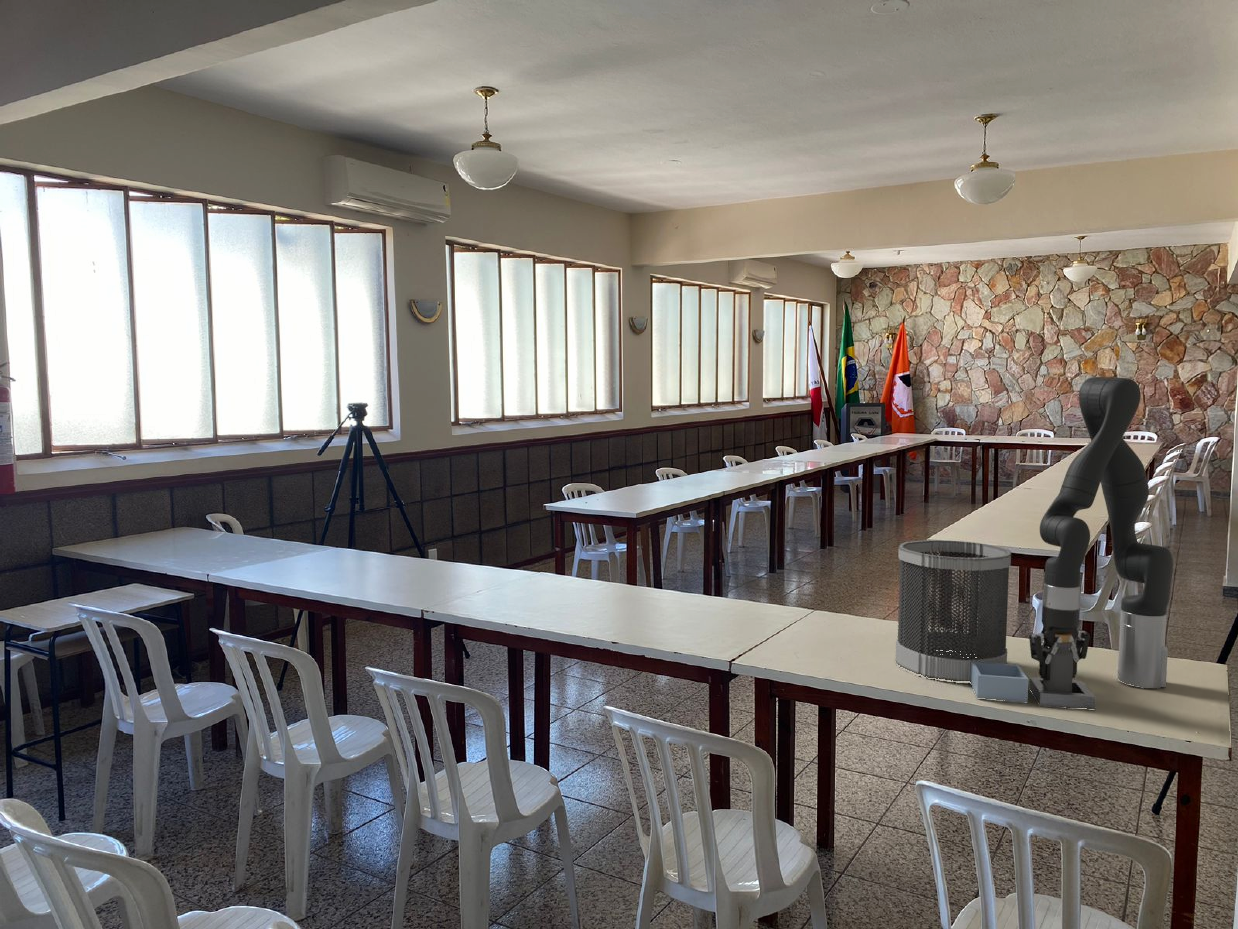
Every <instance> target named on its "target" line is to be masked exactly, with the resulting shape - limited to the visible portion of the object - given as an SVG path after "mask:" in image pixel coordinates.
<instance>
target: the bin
mask: <svg viewBox="0 0 1238 929" xmlns="http://www.w3.org/2000/svg"><path fill="white" fill-rule="evenodd" d="M970 682H971V684H972V687H973V689H974V691H975V693H974V695H975V694H976V696H977V698H985V699H996V700H1003V701H1002V702H1004V700H1005V701H1014V702H1013V703H1017V702H1027V703H1028V700H1029V699H1028V696H1029V693H1028V692H1029V678H1028V676H1027V675H1026V673H1025V671H1024V670H1023V669H1022V668H1021V666H1020V665H1019V664H1008V663H1007V664H997V663H983V662H971V680H970ZM972 687H971V688H972ZM973 689H972V690H973ZM974 691H973V692H974ZM976 696H975V697H976ZM977 698H976V699H977Z"/></svg>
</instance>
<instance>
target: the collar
mask: <svg viewBox="0 0 1238 929" xmlns="http://www.w3.org/2000/svg"><path fill="white" fill-rule="evenodd" d="M1029 688H1030V690H1031V691H1032V693H1033V695H1034V696H1033V695H1032V696H1033V698H1034V697H1035V698H1036V699H1035V698H1034V699H1035V701H1036V700H1037V701H1036V702H1038V703H1039V704H1038V703H1037V704H1038V705H1040V706H1039V707H1043V706H1047V707H1046V708H1056V707H1066V708H1065V709H1068V708H1087V709H1095V710H1096V700H1097V697H1096V696H1095V695H1094V693H1093V692H1092V691H1091V690H1090V689H1089V688H1088V686H1087V685H1086V684H1085V683H1084V682H1083V681H1082V680H1074V679H1072V693H1067V692H1054V691H1047V690H1046V689H1045V687H1044V686H1043V679H1042V678H1041V677H1032V676H1029V682H1028V689H1029ZM1030 690H1029V691H1030ZM1032 693H1031V694H1032ZM1049 706H1050V707H1049Z"/></svg>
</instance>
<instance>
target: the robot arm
mask: <svg viewBox="0 0 1238 929" xmlns="http://www.w3.org/2000/svg"><path fill="white" fill-rule="evenodd" d="M1141 396H1142V394H1141V388H1140V386H1139V385H1138V383H1137V382H1136V381H1135V380H1134V379H1131V378H1127V377H1114V376H1113V377H1111V376H1110V377H1109V376H1107V377H1106V376H1095V377H1093V376H1092V377H1089V378H1087V379H1085V380H1084V381H1083V382H1082V384H1081V386H1080V388H1079V392H1078V402H1079V403H1078V404H1079V408H1080V412H1081V416H1082V417H1083V421H1084V423H1085V427H1086V430H1087V433H1088V436H1089V439H1090V442H1089V443H1088V444H1087V445H1086V446H1085V447H1084V448H1083V449H1082V450H1081V451H1080V452H1079V453H1078V454H1077V455H1076V456H1075V458H1073V459H1072V461H1071V463H1070V465H1069V466H1068V468H1067V471H1066V473H1065V475H1064V479H1063V481H1062V484H1061V487H1060V489H1059V493H1058V495H1057V496H1056V497H1055V499H1054V500H1053V501H1052V502H1051V504H1050V505H1049V507H1048V509H1047V510H1046V512H1044V514H1043V517H1042V518H1041V520H1040V524H1039V535H1040V537H1041V540H1042V541H1043V542H1044V543H1046V544H1048V545H1050V546H1054V547H1060V550H1059V553H1058V555H1057V556H1052V557H1049V558H1048V559H1047V560H1046V562H1045V564H1044V584H1043V590H1042V602H1041V603H1042V605H1041V623H1042V629H1041V632H1039V633H1033V632H1031V633H1029V634H1028V637H1029V638H1028V639H1029V648H1030V657H1031V659H1033V660H1035V661H1037V662H1038V663H1039V664H1038V665H1039V666H1038V675H1039V676H1040V678H1042V679H1045V680H1049V679H1050V664H1049V663H1050V661H1051V659H1052V655H1055V654H1056V652H1057V649H1058V647H1057V644H1058V643H1062V638H1061V636H1058V637H1055V634H1072V635H1071V637H1070V639H1069V642H1070V643H1072V647H1069V650H1070V651H1071V652H1072V653H1073V677H1072V679H1075V678H1076V676H1077V674H1078V662H1079V661H1080V660H1085V659H1086V658H1087V655H1088V649H1089V644H1090V637H1091V634H1090V633H1089V632H1087V631H1085V630H1082V629H1080V630H1078V628H1079V626H1080V614H1081V588H1080V583H1081V567H1082V565H1083V562H1084V559H1085V558H1086V557H1085V556H1086V554H1087V551H1088V548H1089V545H1090V541H1091V530H1090V528H1089V525H1088V524H1087V523H1086V521H1085V520H1083V519H1082V518H1079V517H1075V515H1076V514H1077V512H1079V511H1082V510H1088V509H1090V508H1091V507H1092V506H1093V504H1094V501H1095V500H1096V497H1097V492H1098V490H1099V487H1100V486H1101V490H1102V494H1103V498H1104V502H1105V506H1106V511H1107V516H1108V521H1109V526H1110V527H1109V528H1110V534H1111V544H1112V545H1111V546H1112V555H1113V563H1114V566H1115V570H1116V572H1117V574H1118V576H1119V577H1120V578H1122V579H1123V580H1126V581H1130V582H1135V583H1140V584H1144V586H1143V590H1142V592H1141V593H1139V594H1138V593H1137V594H1131V595H1126V596H1124V597H1122V598H1121V603H1120V621H1119V638H1118V639H1119V642H1118V643H1119V644H1118V663H1117V664H1118V665H1117V680H1118V679H1119V680H1120V681H1122V682H1124V683H1126V684H1131V685H1134V686H1139V687H1143V688H1142V689H1144V688H1157V689H1159V688H1158V687H1167V674H1168V673H1167V672H1168V653H1169V650H1168V647H1167V646H1166V630H1167V629H1166V628H1167V627H1166V625H1167V624H1166V623H1167V612H1168V611H1167V609H1168V605H1169V602H1170V598H1171V588H1172V579H1173V570H1174V559H1173V555H1172V553H1171V551H1170V549H1168V548H1167V547H1165V546H1162V545H1161V546H1160V545H1154V544H1148V543H1142V542H1139V541H1138V538H1137V536H1136V535H1137V534H1136V522H1137V520H1138V518H1139V516H1140V514H1141V513H1142V510H1143V509H1144V507H1145V506H1146V504H1147V501H1148V499H1149V496H1150V495H1149V494H1150V487H1149V484H1148V478H1147V474H1146V468H1145V465H1144V464H1143V463H1142V460H1141V459H1140V458H1139V456H1138V455H1137V454H1136V452H1135V451H1134V449H1133V448H1132V447H1131V446H1130V445H1129V444H1128V443H1127V442H1126V440H1125V439H1124V435H1125V434H1126V431H1127V430H1128V428H1129V426H1130V424H1131V422H1132V421H1133V418H1134V417H1135V416H1136V414H1137V412H1138V409H1139V406H1140V402H1141V398H1142V397H1141ZM1048 648H1051V649H1050V650H1048ZM1046 652H1047V655H1046V657H1045V654H1046Z"/></svg>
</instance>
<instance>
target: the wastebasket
mask: <svg viewBox="0 0 1238 929" xmlns="http://www.w3.org/2000/svg"><path fill="white" fill-rule="evenodd" d="M898 559H899V574H898V575H899V577H898V578H899V582H898V583H899V585H898V587H899V589H898V612H897V614H898V618H897V620H898V621H897V624H898V625H897V639H896V641H895V661H896V663H897V664H898V665H900V667H903V668H905V669H907V670H909V671H912V672H914V673H916V674H921V675H923V676H924V677H926V676H927V677H928V678H936V679H938V678H939V679H945V680H951V681H952V680H953V681H970V680H971V662H983V663H997V664H1008V648H1007V626H1008V602H1009V601H1008V600H1009V598H1008V597H1009V580H1010V579H1009V577H1010V576H1009V575H1010V573H1009V572H1010V567H1011V563H1012V562H1011V561H1012V551H1011V550H1010V549H1008V548H1005V547H1001V546H996V545H992V544H987V543H981V542H972V541H964V540H963V541H962V540H948V539H947V540H944V539H943V540H942V539H939V540H937V539H933V540H930V539H927V540H926V539H925V540H915V541H906V542H902V543H900V544H899V546H898ZM936 650H938V651H936ZM940 650H943V651H940ZM949 650H952V651H953V652H952V651H949ZM946 651H949V652H946ZM955 651H956V652H955ZM960 651H961V652H960ZM940 654H941V655H940ZM942 654H943V655H942ZM950 654H951V655H950ZM960 654H961V655H960ZM966 654H967V655H966ZM970 654H971V655H970ZM974 654H975V655H974ZM963 657H964V658H963ZM967 657H969V658H967ZM975 657H977V658H975ZM896 663H895V664H896ZM900 667H899V668H900Z"/></svg>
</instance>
